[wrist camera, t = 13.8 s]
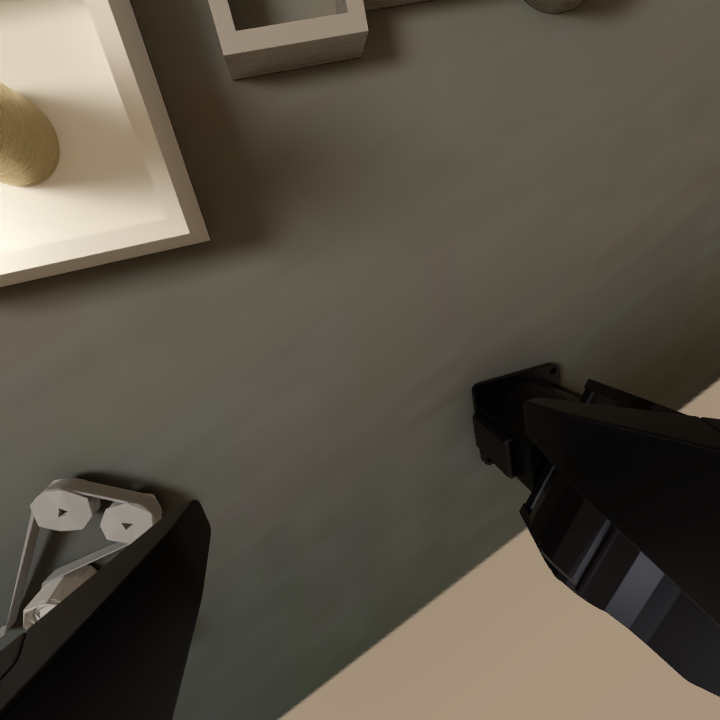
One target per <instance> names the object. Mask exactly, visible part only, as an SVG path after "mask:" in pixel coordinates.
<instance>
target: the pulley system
mask: <svg viewBox="0 0 720 720" xmlns="http://www.w3.org/2000/svg"><path fill="white" fill-rule="evenodd" d="M100 498H101V499H106V500H110V501H113V503H112V504H111V506H110V507H109V508H107V509H106V510H105V513H104V516H103V518H102V521H101V524H100V526H101V528H102V530H103V533H104V535H105V537H106V539H107V540H112V541H117V542H116V543H114V544H112V545H109V546H107V547H105V548H103V549H100V550H98V551H96V552H94V553H91V554H89V555H87V556H85V557H82V558H80V559H78V560H76V561H74V562H71V563H69V564H67V565H65V566H62V567H60V568H58V569H56V570H55V571H54V572H53V573H52V574H51V575H50V576H49V577H48V578H47V579H46V580H45V581H44V582H43V583H42V588H41V590H40V591H39V592H38V594H37V595H36V596H35V597H34V598H33V600H32V601H31V602H30V603H29V604H28V605H27V607H26V608H25V609H24V610H23V628H25V629H26V630H28V628H29V627H31V626H32V625H33V624H34V623H35V622H37V621H38V620H39V619H40V618H41V617H43V616H44V615H45V614H46V613H48V612H49V611H50V610H51V609H52V608H54V607H55V606H56V605H57V604H58V603H60V602H61V601H62V600H63V599H64V598H66V597H67V596H68V595H69V594H71V593H72V592H73V591H74V590H75V589H77V588H78V587H79V586H80V585H81V584H83V583H84V582H85V581H86V580H88V579H89V578H90V577H91V576H92V575H94V574H95V573H96V572H97V570H96V569H95V568H94V567H93V566H91V565H87V564H89V563H91V562H93V561H96V560H98V559H100V558H102V557H104V556H106V555H108V554H111V553H113V552H115V551H117V550H119V549H121V548H123V547H126V546H128V545H130V544H131V543H132V542H134V541H135V540H136V539H137V538H138V537H140V536H141V535H142V534H143V533H144V532H146V531H147V530H148V529H149V528H150V527H152V526H153V525H154V524H155V523H157V522H158V521H159V520H160V519H161V518H162V509H161V506H160V504H159V502H158V501H157V499H156V497H155V496H154V494H147V493H140V492H135V491H131V490H126V489H122V488H117V487H112V486H108V485H103V484H99V483H94V482H90V481H87V480H86V479H75V478H66V479H60V480H54V481H53V482H52V483H51V484H50V485H49V486H48V487H47V488H46V489H45V490H44V491H43V492H42V493H41V494H40V495H39V496H38V497H37V498H36V499H35V500H34V501H33V503H32V504H31V505H30V508H31V510H32V512H31V517H30V521H29V526H28V530H27V535H26V539H25V544H24V548H23V553H22V558H21V562H20V567H19V571H18V576H17V580H16V585H15V589H14V594H13V598H12V603H11V607H10V612H9V617H8V621H7V625H5V626H2V627H0V637H2V636H3V635H4V634H5V633H6V632H7V631H8V630H9V629H10V628H11V627H12V626H13V625H14V623H15V622H16V620H17V616H18V612H19V608H20V604H21V600H22V596H23V592H24V588H25V584H26V581H27V577H28V573H29V569H30V565H31V561H32V557H33V553H34V549H35V545H36V541H37V537H38V533H39V529H40V527H43V528H48V529H53V530H57V531H70V530H80V529H83V528H84V527H85V525H86V524H87V523H88V521H89V520H90V518H91V517H92V516H94V514H95V513H96V512H97V511H98V509H99V508H100V507H101V501H100Z"/></svg>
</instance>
